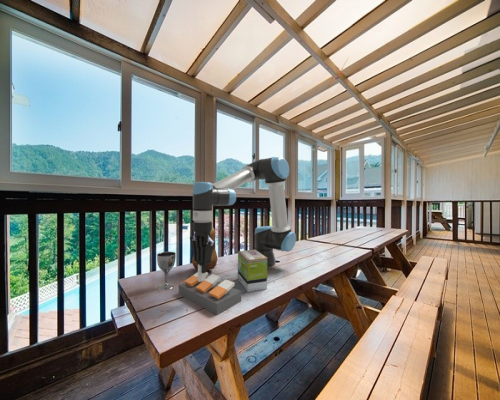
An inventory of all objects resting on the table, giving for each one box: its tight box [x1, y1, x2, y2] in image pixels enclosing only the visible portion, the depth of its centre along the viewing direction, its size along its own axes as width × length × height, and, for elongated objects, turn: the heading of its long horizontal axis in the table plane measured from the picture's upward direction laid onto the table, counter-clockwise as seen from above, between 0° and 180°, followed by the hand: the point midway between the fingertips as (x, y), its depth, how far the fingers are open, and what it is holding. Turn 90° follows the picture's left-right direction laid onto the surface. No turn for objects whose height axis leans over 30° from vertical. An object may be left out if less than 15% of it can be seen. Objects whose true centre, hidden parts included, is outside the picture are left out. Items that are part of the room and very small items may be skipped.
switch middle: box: [196, 273, 222, 293], centre depth 85 cm, size 9×5×2 cm, turn 141°
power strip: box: [178, 276, 242, 316], centre depth 89 cm, size 22×24×4 cm
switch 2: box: [209, 279, 236, 299], centre depth 80 cm, size 9×5×2 cm, turn 141°
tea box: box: [237, 249, 268, 293], centre depth 100 cm, size 15×10×15 cm, turn 21°
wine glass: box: [156, 251, 176, 291], centre depth 95 cm, size 8×8×15 cm
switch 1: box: [183, 271, 209, 286], centre depth 90 cm, size 9×5×2 cm, turn 141°
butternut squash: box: [191, 226, 218, 272], centre depth 115 cm, size 14×13×25 cm
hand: (201, 280), depth 82 cm, fingers closed
